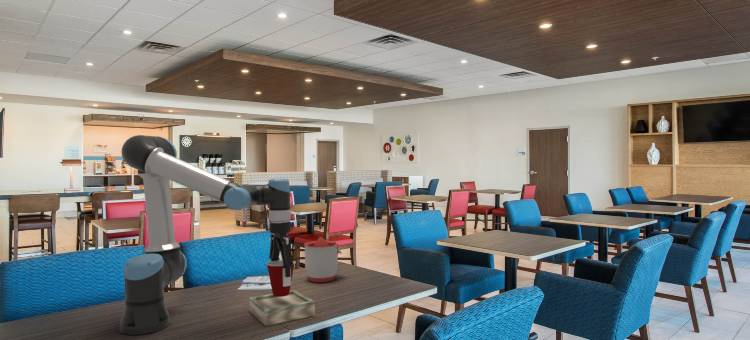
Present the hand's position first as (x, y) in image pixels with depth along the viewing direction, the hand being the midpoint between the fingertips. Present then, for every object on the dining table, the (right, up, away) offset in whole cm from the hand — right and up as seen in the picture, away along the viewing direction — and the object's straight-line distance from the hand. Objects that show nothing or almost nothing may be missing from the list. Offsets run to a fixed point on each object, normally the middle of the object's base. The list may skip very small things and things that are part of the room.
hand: (281, 282), depth 165 cm
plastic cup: (0, -5, 0) cm, 5 cm away
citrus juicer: (+10, -10, +47) cm, 49 cm away
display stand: (0, -11, 0) cm, 11 cm away
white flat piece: (-17, -11, +40) cm, 45 cm away
